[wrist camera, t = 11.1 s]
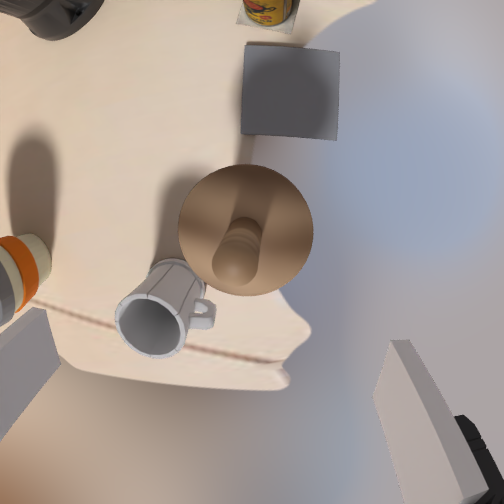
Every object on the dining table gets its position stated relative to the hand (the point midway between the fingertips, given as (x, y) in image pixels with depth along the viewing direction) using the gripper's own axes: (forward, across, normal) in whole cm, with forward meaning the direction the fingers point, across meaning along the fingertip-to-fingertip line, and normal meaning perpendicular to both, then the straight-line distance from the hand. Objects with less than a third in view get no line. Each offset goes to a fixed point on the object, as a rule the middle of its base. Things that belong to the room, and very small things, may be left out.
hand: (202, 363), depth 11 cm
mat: (+32, +4, +15) cm, 36 cm away
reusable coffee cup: (+33, -38, -10) cm, 51 cm away
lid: (+20, 0, 0) cm, 20 cm away
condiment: (+33, +1, +28) cm, 43 cm away
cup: (+33, -10, -12) cm, 36 cm away
